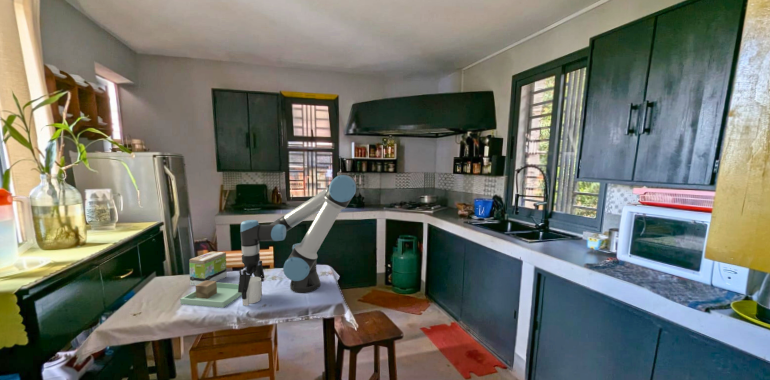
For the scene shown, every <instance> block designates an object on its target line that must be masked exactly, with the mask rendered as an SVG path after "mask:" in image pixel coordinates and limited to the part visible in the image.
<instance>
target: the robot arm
mask: <svg viewBox="0 0 770 380" xmlns="http://www.w3.org/2000/svg"><path fill="white" fill-rule="evenodd" d="M325 187H326V188H325V189H323V190H322V191H320V192H318V193H317V194H316V195H314V196H312V197H311V198H310V199H307V200H306V201H304V202H303V203H301V204H299V206H296V208H294V209H292V210H290V211H289V212H287V213H286V214H284V215H283V216H281V217H279V218H277V219H276V220H274V222H272V223H270V224H260V223H259V220H257V219H247V220H243V221H241V223H240V231H239V232H240V241H241V243H240V246H241V263H242V264H244V266H243V269H239V271H238V273H239V276H238V277H239V278H238V284H239V286H238V292H240V293H242V295H241V299H242V306H245V307H246V306H250V304H249V291H247V290H248V286H249V281H250V277H261V296H263V291H262V289H263V285H262V284H263V283H262V282H264V281H265V277H266V276H265V272H264V268H263V260H261V256H260V255H261V254H260V251H261V250H260V242H279V241H285V239H286V236H287V232H288V231H289V230H291V229H292V228H294V227H295V226H298V225H299V224H300V223H301V222H303V221H305V220H307V219H309V218H310V217H311V216H314V215H315V214H316V213H317V214H316V216H315V218H314V219H313V221H312V223H311V224H310V226H309V227H308V230H307V232H306V233H305V235H304V237H303V239H302V240H301V242H299V243H298V242H297V243H294V244H293V245H292V247H291V249H292V251H291V253H290V255H289V256H288V258H287V259H286V260H285V262H284V264H283V268H282V269H283V274H284V276H285V277H286V278H287V279H288V280H290V284H289V287H290V291H291V292H294V293H310V292H312V291H313V292H314V291H315V290H318V289H319V288H320V287H321V279H320V276H319V274H318V271H317V259H318V257H319V256H318V254H317V252H318V251H319V249H320V248H321V245H322V244H323V242H324V240H325V238H326V237H327V235H328V233H329V232H330V230H331V228H332V227H333V225H334V223H335V221H336V220H337V217H338V216H339V214H340V213H341V211H343V210H344V209H346V208H347V207H348V205H350V202H351V201H352V199H353V197H354V196H355V194H356V192H357V182H356V180H355V179H354V178H353V177H352V176H351V175H350V174H340V175H337V176H335V177H334V178H333V179H331V181H330V183H329V184H328V185H326V186H325Z"/></svg>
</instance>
